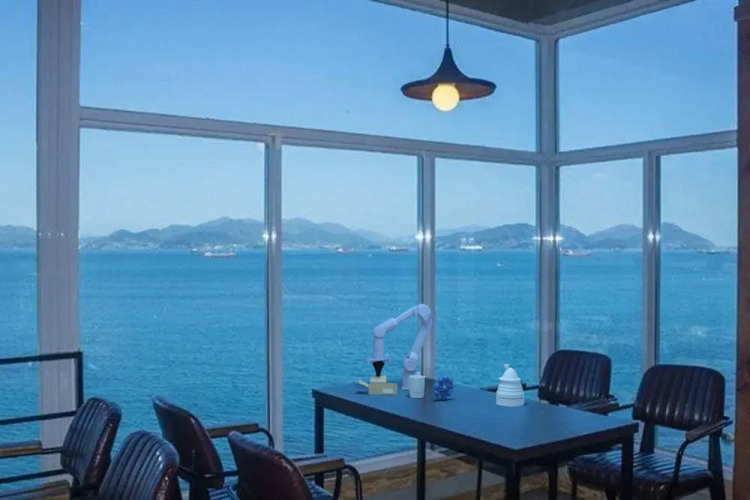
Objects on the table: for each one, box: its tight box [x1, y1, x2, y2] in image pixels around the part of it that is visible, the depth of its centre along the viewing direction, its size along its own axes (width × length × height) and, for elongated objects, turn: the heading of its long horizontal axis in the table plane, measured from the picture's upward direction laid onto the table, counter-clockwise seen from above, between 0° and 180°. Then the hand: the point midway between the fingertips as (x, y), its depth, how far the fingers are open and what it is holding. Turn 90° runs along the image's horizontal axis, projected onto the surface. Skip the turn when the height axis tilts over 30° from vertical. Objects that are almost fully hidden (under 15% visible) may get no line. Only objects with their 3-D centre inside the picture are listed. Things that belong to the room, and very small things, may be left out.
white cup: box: [409, 374, 426, 399], centre depth 373 cm, size 8×8×10 cm
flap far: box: [358, 379, 369, 388], centre depth 382 cm, size 1×8×5 cm
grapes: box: [432, 374, 455, 401], centre depth 366 cm, size 12×7×12 cm, turn 117°
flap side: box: [369, 374, 387, 383], centre depth 394 cm, size 8×1×5 cm
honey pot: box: [495, 363, 525, 408], centre depth 358 cm, size 13×13×18 cm
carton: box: [368, 382, 398, 396], centre depth 384 cm, size 14×14×4 cm
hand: (378, 376), depth 395 cm, fingers closed, pressing on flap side
